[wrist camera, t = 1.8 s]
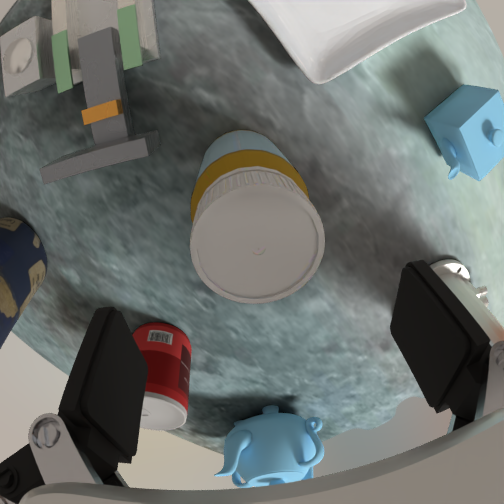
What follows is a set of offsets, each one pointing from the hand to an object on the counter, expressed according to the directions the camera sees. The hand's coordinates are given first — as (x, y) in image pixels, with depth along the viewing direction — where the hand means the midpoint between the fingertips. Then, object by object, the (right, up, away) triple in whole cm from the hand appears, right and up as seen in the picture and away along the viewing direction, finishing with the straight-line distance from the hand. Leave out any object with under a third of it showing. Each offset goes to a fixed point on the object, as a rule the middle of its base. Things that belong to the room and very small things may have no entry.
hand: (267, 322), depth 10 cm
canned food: (-12, -9, +27) cm, 31 cm away
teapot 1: (+2, -28, +40) cm, 48 cm away
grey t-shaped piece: (-12, +16, +11) cm, 23 cm away
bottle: (-1, +10, +17) cm, 20 cm away
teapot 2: (+20, +16, +16) cm, 30 cm away
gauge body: (-15, +21, +9) cm, 28 cm away
